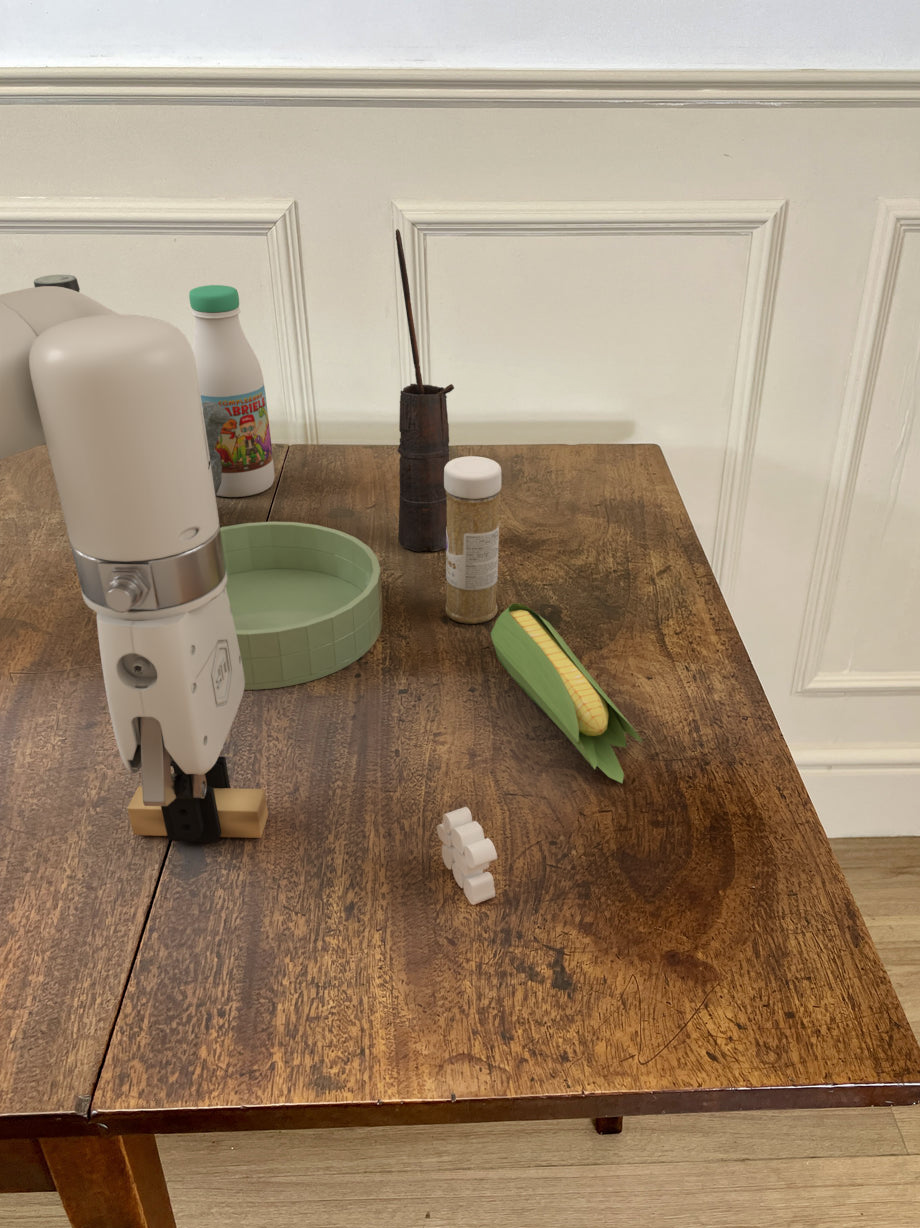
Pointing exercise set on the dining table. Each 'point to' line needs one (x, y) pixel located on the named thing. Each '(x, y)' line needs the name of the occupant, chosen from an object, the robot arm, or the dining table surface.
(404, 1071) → the dining table surface
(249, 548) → the bowl
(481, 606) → the spice jar
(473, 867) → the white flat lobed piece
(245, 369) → the milk bottle
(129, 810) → the wooden block
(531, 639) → the edible corn
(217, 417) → the mortar and pestle
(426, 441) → the butter churn
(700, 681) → the dining table surface
